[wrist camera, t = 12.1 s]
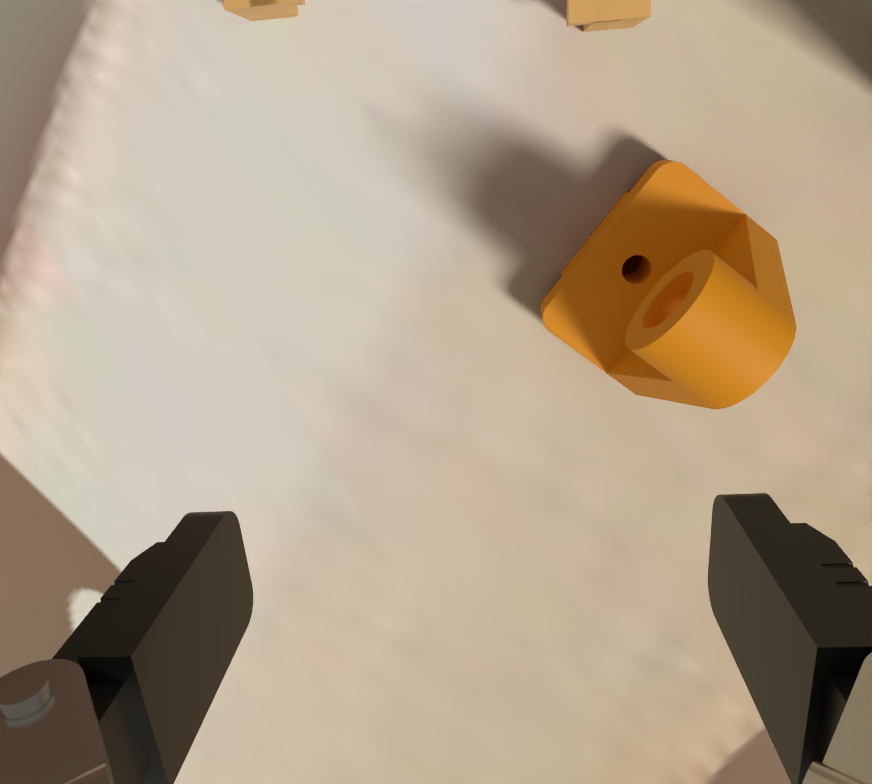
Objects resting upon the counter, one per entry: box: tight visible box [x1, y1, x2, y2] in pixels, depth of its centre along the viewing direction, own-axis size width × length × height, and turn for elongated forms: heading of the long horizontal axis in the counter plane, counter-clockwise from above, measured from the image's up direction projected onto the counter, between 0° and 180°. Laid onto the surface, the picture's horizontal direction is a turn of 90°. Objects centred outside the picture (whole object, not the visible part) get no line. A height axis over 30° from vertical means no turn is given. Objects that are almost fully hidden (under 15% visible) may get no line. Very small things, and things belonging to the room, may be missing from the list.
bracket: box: [541, 160, 796, 409], centre depth 34 cm, size 11×7×12 cm
